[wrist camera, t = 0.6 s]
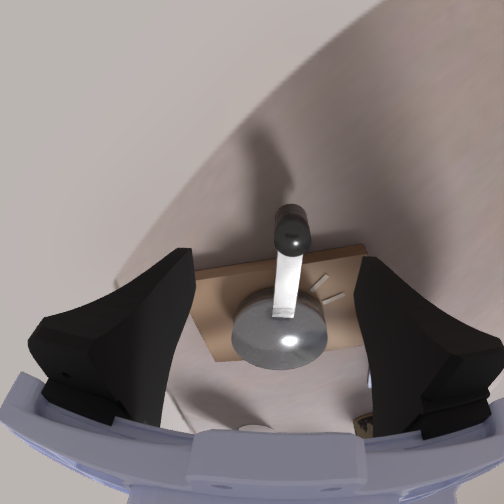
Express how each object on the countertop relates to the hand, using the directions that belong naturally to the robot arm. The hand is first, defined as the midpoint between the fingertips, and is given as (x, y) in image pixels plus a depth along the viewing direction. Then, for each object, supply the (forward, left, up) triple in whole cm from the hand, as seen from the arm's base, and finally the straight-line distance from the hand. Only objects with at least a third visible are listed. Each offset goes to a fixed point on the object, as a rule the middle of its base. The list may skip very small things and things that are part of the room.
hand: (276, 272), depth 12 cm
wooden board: (-11, +2, -10) cm, 15 cm away
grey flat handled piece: (-8, +1, -9) cm, 12 cm away
